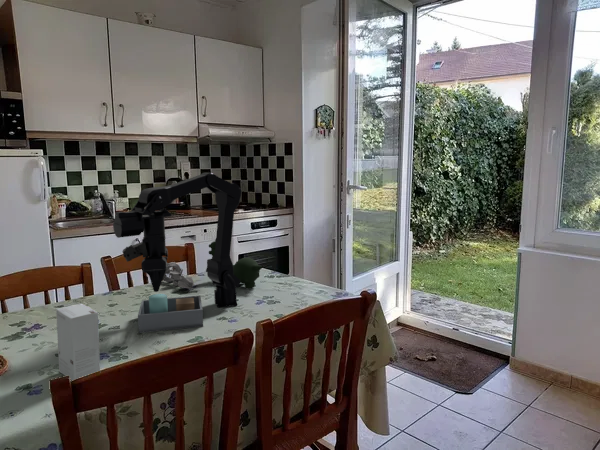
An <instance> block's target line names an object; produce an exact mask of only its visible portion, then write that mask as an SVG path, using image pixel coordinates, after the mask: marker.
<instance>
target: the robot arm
mask: <svg viewBox="0 0 600 450" xmlns="http://www.w3.org/2000/svg"><path fill="white" fill-rule="evenodd" d="M203 189H208V190H209V192H211V193H213V194H214V196H215V197H214V200H215V203H216V207H217V210H218V216H217V224H216V225H217V226H216V236H215V239H216V245H215V254H214V256H213V258H212V257H211V258H208V259H207V261H206V269H205V272H206V273H207V277H208V279H209V280H211V283H212V285H214V286H215V289H214V291H213V293H214V304H215V305H216V307H217V308H225V307H228V308H229V307H236V306H238V302H237V288H239V287H240V284H241V283H240V282H241V281H240V279H238V278H237V277H236V276H235V275H234V273H233V265H234V264H233V262H232V258H231V246H232V236H233V227H234V226H233V225H234V216H235V211H236V209H237V208H238V206H239V204H240V202H241V197H242V193H243V192H242V188H241V187H240V186H239V184H237V183H234V182H230V181H228V180H225V179H224V178H222V177H219V176H218V175H216V174H214V173H212V172H202V173H201V174H199V175H195V176H192V177H190V178H187V179H183V180H181V181H179V182H175V183H172V184H170V185H166V186H165V185H164V186H163V185H162V186H154V187H149V188H144V189H142V190H141V191H140V193H139V195H138V200H137V201H136V203H135V204H134V206H133V208H132V209H131V211H116V212H115V217H114V221H113V223H112V228H113V232H114V234H115V237H116V238H117V239H119V238H128V237H135V236H140V235H141V234H142V233H143V237H142V239H141V241H140V242H138V243H136V244H131V245H129V246H126V247H125V248H124V249H122V254H123V258H125V260H126V262H127V263H128V262H131V261H132V260H134V259H136V258H139V257H141V256H142V258H143V260H142V261H141V271H142V272H143V273H145V274H146V275H148V276H149V280H150V282H151V283H150V284H151V286H152V289H153V292H154V293H157V292H159V290H160V288H161V285H162V283H163V282H162V281H163V277H164V274H165V271H166V262H167V261H168V256H169V252H168V251H169V250H168V248H167V246H166V245H167V244H166V231H165V230H166V227H165V218H167V217H172V213H171V212H170V211H168V210H167V208H166V207H168V206H169V205H171V204H172V203H173V202H174V201H175V200H177V199H179V198H181V197H184V196H187V195H190V194H192V193H195V192H197V191H201V190H203ZM210 259H211V260H210ZM167 263H168V262H167Z"/></svg>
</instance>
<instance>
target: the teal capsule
mask: <svg viewBox="0 0 600 450" xmlns="http://www.w3.org/2000/svg"><path fill="white" fill-rule="evenodd" d="M167 298H168V295H167V294H165V293H156V294H151V295H149V296H148V300H149V309H150V314H152V313H163V312H168V305H167Z"/></svg>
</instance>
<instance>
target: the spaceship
mask: <svg viewBox="0 0 600 450" xmlns="http://www.w3.org/2000/svg"><path fill="white" fill-rule="evenodd" d="M183 271H184V269H183V268H181V267H180V265H179V264H178V263H177V262H169V263H168V262H166V271H165V274H164V277H163V279H162V281H164V282H165V283H172V285H173V286H175V287H176V286H177V287H180V288H185V289H188V290H193V287H194V286H195V282H194V279H193V278H192V276H191V277H189V276H187V275H185V274H184V273H183ZM171 281H173V282H171Z"/></svg>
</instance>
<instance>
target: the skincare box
mask: <svg viewBox="0 0 600 450" xmlns="http://www.w3.org/2000/svg"><path fill="white" fill-rule="evenodd" d="M55 310H56V313H55V314H56V326H57V329H56V330H57V348H58V350H57V352H58V372H59V373H60V374H62V375H63V376H65V377H66V375H69V376H70V378H71V380H74V379H77V378H79V377H82V376H85V375H88V374H91V373H94V372H97V371H100V372H101V365H100V362H101V361H100V338H99V336H100V335H99V312H98V311H96V310H94V309H92V308H91V306H88V305H85V304H83V303H82V302H81V303H77V304H72V305H68V306H63V307H58V308H56V309H55ZM71 380H70V381H71Z"/></svg>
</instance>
